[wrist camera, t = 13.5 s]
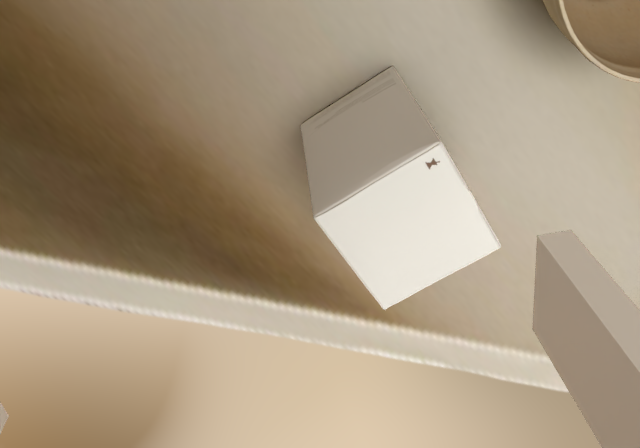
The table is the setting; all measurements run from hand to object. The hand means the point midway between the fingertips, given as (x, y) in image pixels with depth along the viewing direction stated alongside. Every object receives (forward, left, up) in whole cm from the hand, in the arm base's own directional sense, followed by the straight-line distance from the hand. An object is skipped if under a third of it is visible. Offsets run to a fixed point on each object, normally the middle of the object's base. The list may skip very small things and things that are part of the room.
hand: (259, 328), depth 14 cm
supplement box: (+7, -11, -35) cm, 37 cm away
